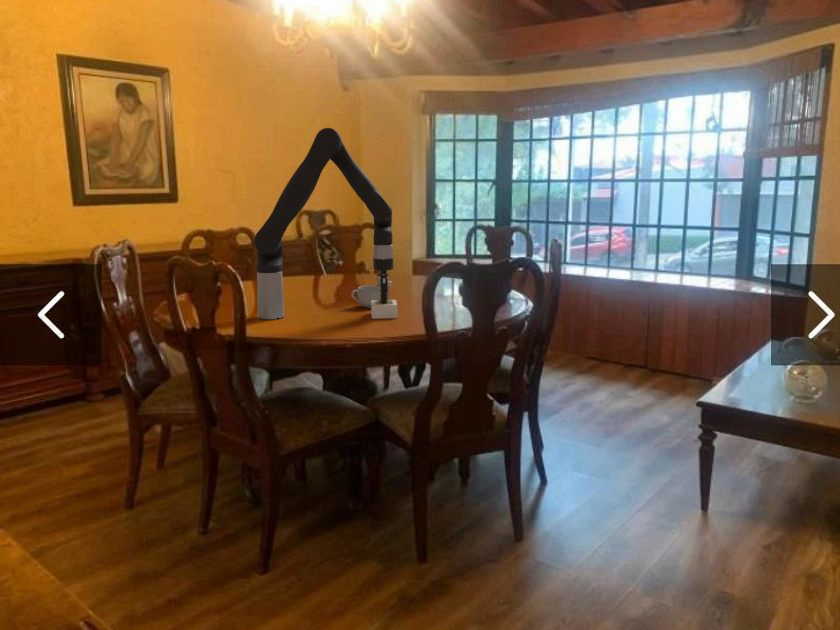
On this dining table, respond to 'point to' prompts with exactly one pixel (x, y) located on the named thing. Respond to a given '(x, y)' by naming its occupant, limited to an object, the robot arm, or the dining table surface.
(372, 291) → the teacup
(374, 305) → the well
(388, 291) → the bracket
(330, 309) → the dining table surface
